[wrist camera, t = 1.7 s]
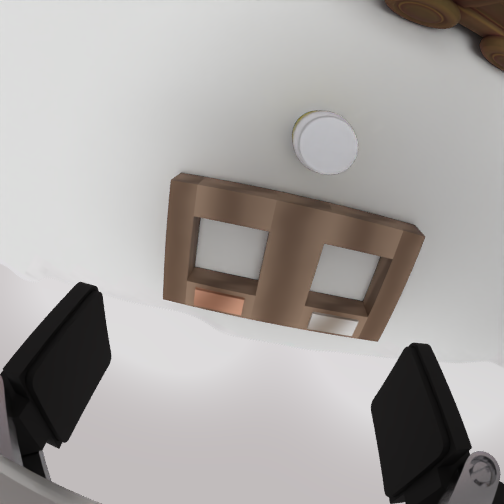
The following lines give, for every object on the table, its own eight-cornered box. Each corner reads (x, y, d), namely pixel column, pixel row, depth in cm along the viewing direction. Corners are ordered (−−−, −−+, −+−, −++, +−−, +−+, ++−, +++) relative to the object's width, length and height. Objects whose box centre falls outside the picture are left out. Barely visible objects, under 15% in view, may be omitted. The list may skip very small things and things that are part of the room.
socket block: (414, 225, 30) (426, 238, 27) (372, 325, 36) (378, 343, 33) (181, 172, 30) (169, 180, 27) (171, 284, 36) (161, 301, 33)
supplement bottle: (352, 145, 27) (376, 161, 20) (309, 170, 29) (317, 194, 21) (326, 100, 26) (341, 98, 18) (281, 126, 27) (279, 133, 20)
